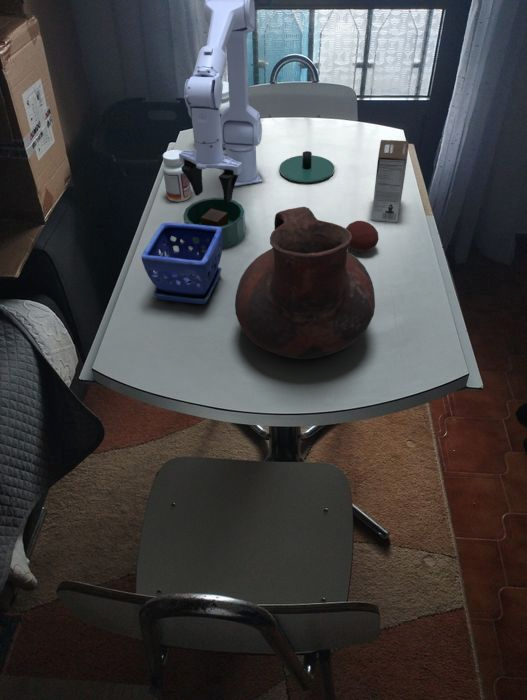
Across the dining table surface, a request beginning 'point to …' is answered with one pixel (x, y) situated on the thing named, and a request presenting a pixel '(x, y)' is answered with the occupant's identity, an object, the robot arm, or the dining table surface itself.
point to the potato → (362, 236)
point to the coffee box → (389, 180)
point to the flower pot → (184, 262)
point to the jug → (305, 290)
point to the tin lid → (306, 168)
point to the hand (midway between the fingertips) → (213, 197)
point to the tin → (230, 231)
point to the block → (215, 218)
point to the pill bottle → (175, 177)
